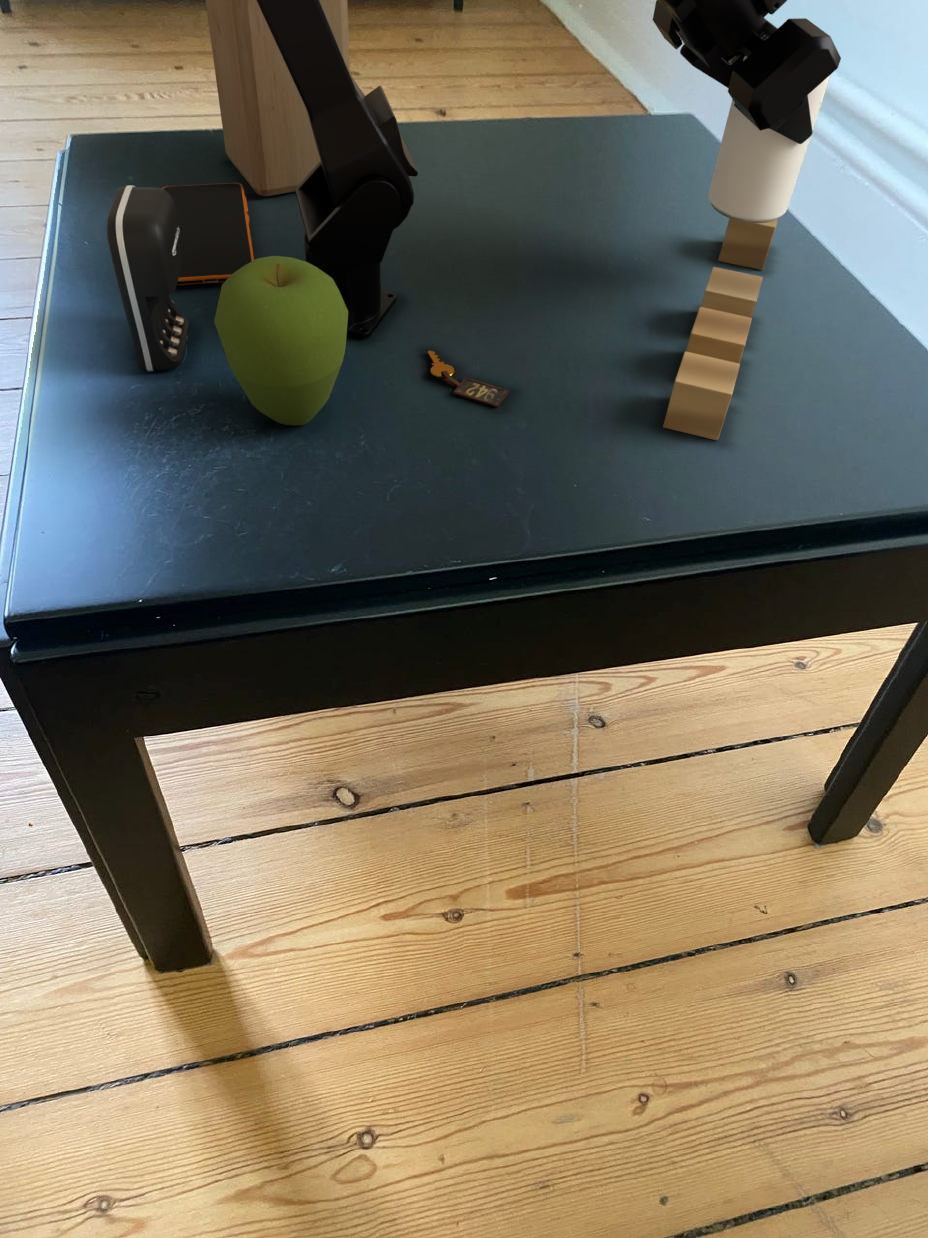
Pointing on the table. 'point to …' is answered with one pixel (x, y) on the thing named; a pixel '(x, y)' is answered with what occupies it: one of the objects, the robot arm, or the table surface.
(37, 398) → the table surface
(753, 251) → the block
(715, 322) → the block
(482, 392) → the key tag
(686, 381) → the block
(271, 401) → the apple
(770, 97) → the robot arm
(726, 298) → the block
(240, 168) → the wooden block
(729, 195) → the can
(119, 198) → the battery charger
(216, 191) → the smartphone
